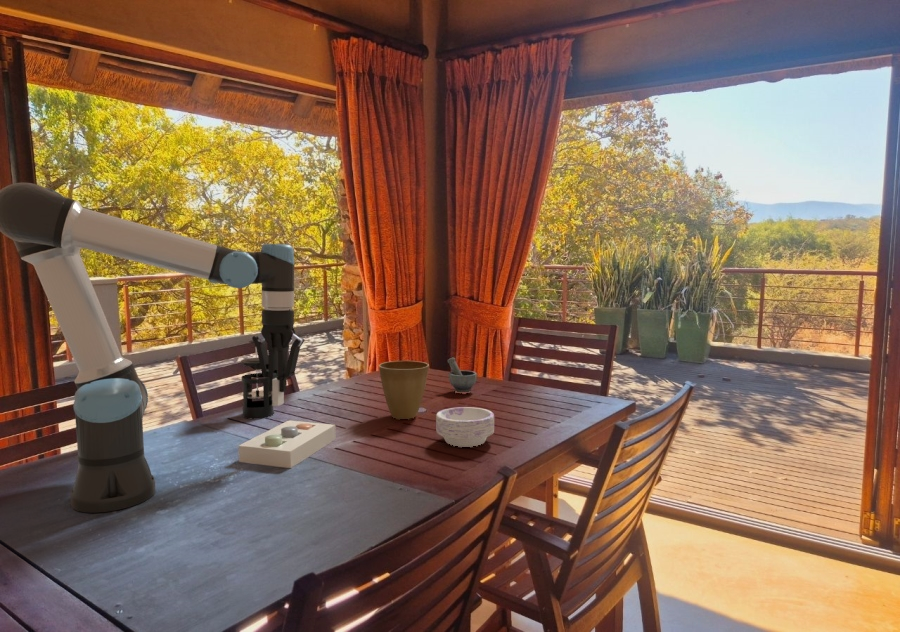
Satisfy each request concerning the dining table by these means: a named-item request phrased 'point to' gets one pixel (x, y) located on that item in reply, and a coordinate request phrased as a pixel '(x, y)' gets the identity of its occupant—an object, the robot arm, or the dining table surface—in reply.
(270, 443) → the sage button
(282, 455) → the button panel
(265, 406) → the french press
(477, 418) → the paper bowls
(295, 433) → the grey button
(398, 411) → the plant pot
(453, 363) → the mortar and pestle
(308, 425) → the terracotta button
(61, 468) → the dining table surface
